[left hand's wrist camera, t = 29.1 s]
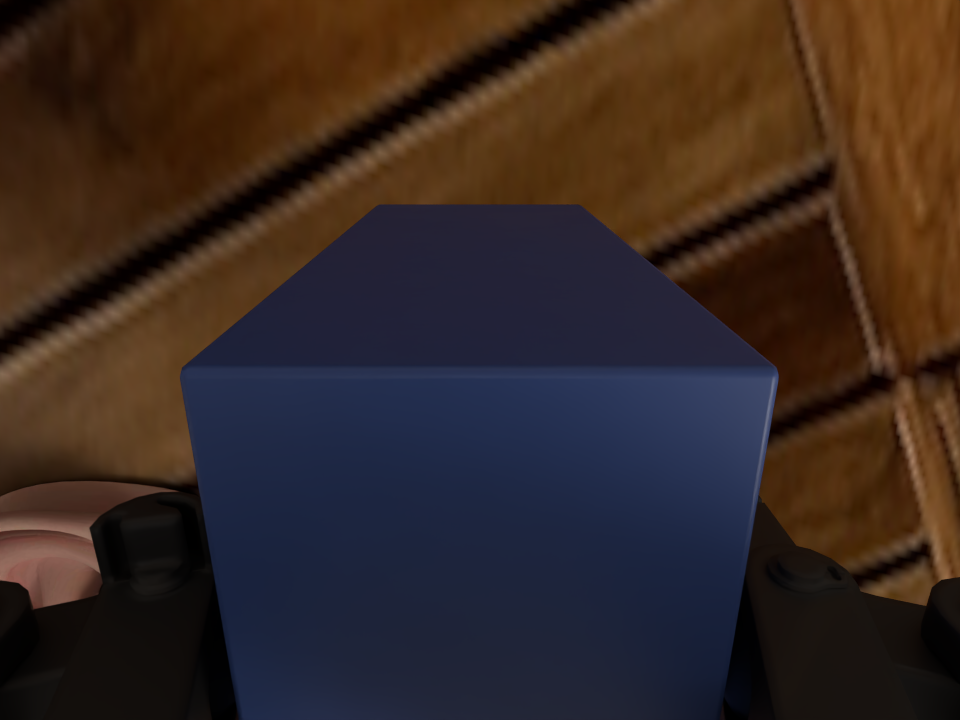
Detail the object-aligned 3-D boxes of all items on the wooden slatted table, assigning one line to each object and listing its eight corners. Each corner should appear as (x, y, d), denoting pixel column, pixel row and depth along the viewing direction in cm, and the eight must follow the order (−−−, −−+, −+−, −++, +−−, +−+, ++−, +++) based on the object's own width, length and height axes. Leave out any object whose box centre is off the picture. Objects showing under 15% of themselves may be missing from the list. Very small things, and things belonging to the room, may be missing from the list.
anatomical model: (299, 632, 24) (169, 812, 27) (323, 562, 27) (207, 728, 31) (-62, 453, 21) (-155, 676, 25) (19, 403, 25) (-72, 603, 28)
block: (565, 514, 18) (673, 1008, 8) (392, 514, 18) (284, 1008, 8) (582, 204, 15) (785, 369, 5) (376, 204, 15) (173, 367, 5)
